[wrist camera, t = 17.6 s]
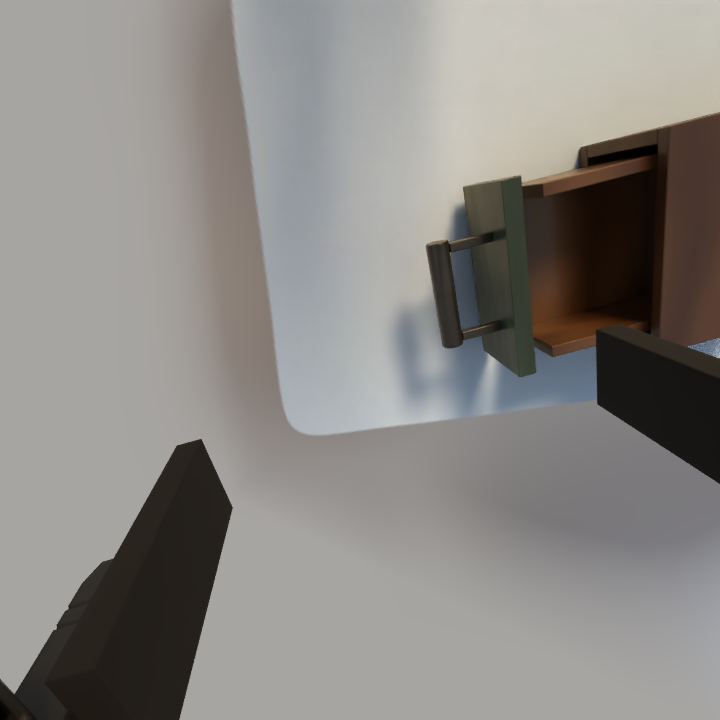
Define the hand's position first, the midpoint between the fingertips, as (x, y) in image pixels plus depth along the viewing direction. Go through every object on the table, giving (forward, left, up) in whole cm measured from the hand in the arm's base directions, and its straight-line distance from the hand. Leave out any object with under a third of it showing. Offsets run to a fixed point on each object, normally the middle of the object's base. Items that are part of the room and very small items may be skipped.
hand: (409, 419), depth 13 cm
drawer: (+14, 0, -18) cm, 23 cm away
